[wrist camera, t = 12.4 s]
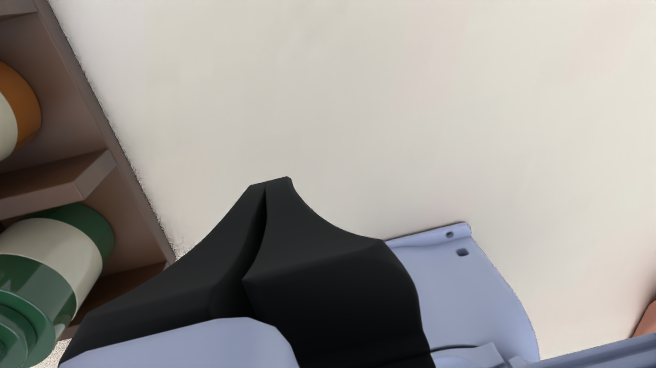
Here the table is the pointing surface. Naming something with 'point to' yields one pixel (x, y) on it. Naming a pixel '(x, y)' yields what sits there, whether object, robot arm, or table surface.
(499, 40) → the table surface
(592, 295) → the table surface
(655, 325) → the brown block
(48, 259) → the dark green bottle
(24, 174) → the rack
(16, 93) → the amber bottle
